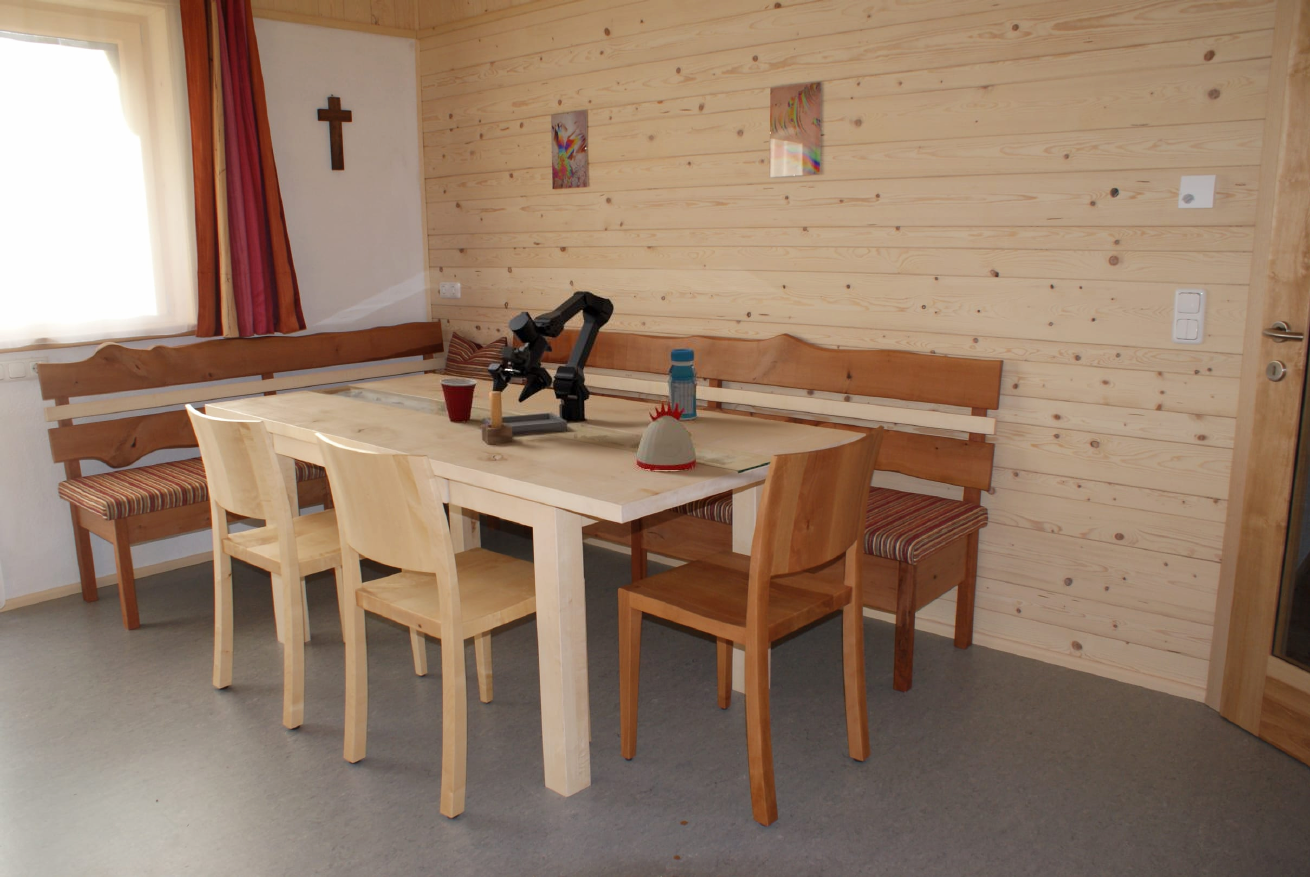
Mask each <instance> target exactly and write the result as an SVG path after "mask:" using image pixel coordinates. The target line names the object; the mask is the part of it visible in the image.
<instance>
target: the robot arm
mask: <svg viewBox="0 0 1310 877" xmlns="http://www.w3.org/2000/svg"><path fill="white" fill-rule="evenodd" d="M614 308H615V307H614V303H613V302H612V301H611V300H610V298H605V297H602V296H599V295H596V294H594V293H592V292H590V291H587V290H586V291H585V290H584V291H583V290H581V291H580V290H577V291H575V292H574V293H573V295H571V296H570V297H569V298H568V299H566V300H565V301H564V302H562V304H560V305H558V306H557V307H556V308H555V309H553V310H552V311H550V312H545V313H541V314H540V315H537V316H535V318H534V319H533V318H532V317H531V314H530V313H529V312H528V311H521V312H520V314H517V315H515V316H514V317H512V319H510V320H509V322H508V328H509V330H510V331H511V333H512V334H513V335H514V337H515V338H516V339H517V341H518V342H519V343H520V344H524V345H522V346H520V347H514V346H503V347H502V351H501V355H500V359H501V360H504V361H507V362H508V363H507V365H508V366H509V367H510V368H511V369H508V368H507V367H506V366H505V364H504V363H498V362H495V363H494V362H493V363H490V364H489V366H488V368H487V369H486V371H487V372H488V373H489V375H490V376H491V377H492V378H493V384H492V391H491V392H493V391H499V392H501V394H502V393H503V392H504V391H505V389H506V388H507V387H508V386H509V384H508V383H509V382H511V380H512V378H513V379H514V378H517V379H522V380H526V382H525V384H524V386H523V388H522V390H521V393H520V394H519V397H518V399H517V402H518V403H523V402H525V401H526V400H527V399H529V398H531V397H532V396H534V395H535V394H537V393H539V392H541V391H542V390H545V389H550V388H551V386H552V388H553V392H554V396H555V398H556V400H560V403H559V406H558V408H559V410H558V411H559V412H558V414H559V417H560V418H562V419H564V420H565V421H567V423H573V422H586V421H587V420H588V419H587V418H586V410H585V408H586V405H585V401H587V400H589V399H590V395H591V392H590V390H589V389H588V387H587V386H586V385H585V382H586V378H585V372H584V370H585V368H586V367H585V366H586V365H587V361H588V359H589V357H590V354H591V352H592V349H593V347H594V345H595V342H596V339H597V337H598V334H599V331H600V329H601V328H603V327H604V326H605V325H606V324H608V322H609V320H610V319H611V317H612V316H613V313H614V311H615V309H614ZM581 311H582V313H581V314H582V318H583V325H582V326H581V329H580V331H579V334H578V337H577V338H576V339H577V340H576V342H575V344H574V346H573V349H572V351H571V354H570V356H569V359H568V361H567V362H566V364H565V365H559V366H558V367H557V369H556V372H555V374H554V376H553V377H552V376H551V374H550V373H549V372H548V371H547V369H546V368H545V367H544V366H542V365H543V364H542V363H541V360H542V358H543V356H544V354H545V352H549V353H552V352H553V348H552V345H551V342H550V341H548V340H547V339H546V338H548V339H556V338H558V337H559V336H560V335H561V333H562V332H563V331H564V330H565V326H566V323H567V322H569V321H570V320H572V319H573V318H574V317H575V316H577V315H578V313H579V314H580V312H581Z"/></svg>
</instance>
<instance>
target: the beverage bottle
mask: <svg viewBox="0 0 1310 877" xmlns="http://www.w3.org/2000/svg"><path fill="white" fill-rule="evenodd" d="M670 362H671V363H672V365H671V366H670V367H669V370H668V373H667V375H668V377H669V378H668V380H667V385H668V402H669V403H670V406H671V411H674V409H675V405H676V403H678V412H680V411H681V410H682V408H683V407H684V411H683V413H682V415H681V417H680V419H679V421H691V420H692V419H693V420H695V419H696V418H697V416H698V415H697V386H698V381H697V378H696V376H697V374H698V373H697V369H696V367H695V366H694V365H693V362H695V351H694V350H693V349H691V348H676V349H675V348H674V349H672V350H670Z"/></svg>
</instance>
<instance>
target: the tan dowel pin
mask: <svg viewBox="0 0 1310 877" xmlns="http://www.w3.org/2000/svg"><path fill="white" fill-rule="evenodd" d="M488 395H489V411H490V412H489V413H490V414H489V415H490V416H489V418H491V428H499V427H502V417H503V410H502V406H503V404H502V393H501V392H499V391H493V392H492V391H490V392H488Z"/></svg>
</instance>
